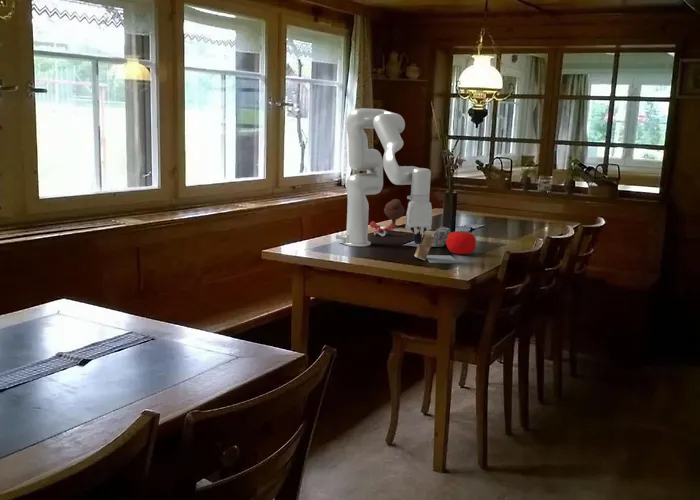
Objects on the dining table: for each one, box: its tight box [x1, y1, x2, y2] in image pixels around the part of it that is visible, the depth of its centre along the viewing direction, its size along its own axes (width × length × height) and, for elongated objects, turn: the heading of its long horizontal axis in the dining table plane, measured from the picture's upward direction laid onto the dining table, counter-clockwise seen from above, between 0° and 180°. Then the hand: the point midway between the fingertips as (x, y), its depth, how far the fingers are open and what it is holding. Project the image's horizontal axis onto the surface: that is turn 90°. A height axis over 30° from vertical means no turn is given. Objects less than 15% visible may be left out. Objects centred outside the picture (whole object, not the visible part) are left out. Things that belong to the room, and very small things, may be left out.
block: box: [413, 232, 434, 261], centre depth 303 cm, size 4×4×10 cm
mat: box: [426, 254, 460, 264], centre depth 305 cm, size 12×14×1 cm
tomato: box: [445, 230, 477, 255], centre depth 318 cm, size 11×13×10 cm
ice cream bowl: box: [383, 198, 406, 229], centre depth 380 cm, size 11×11×15 cm
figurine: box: [368, 220, 396, 237], centre depth 357 cm, size 15×12×7 cm
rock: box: [430, 225, 451, 248], centre depth 335 cm, size 16×8×10 cm, turn 146°
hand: (417, 243), depth 302 cm, fingers closed
